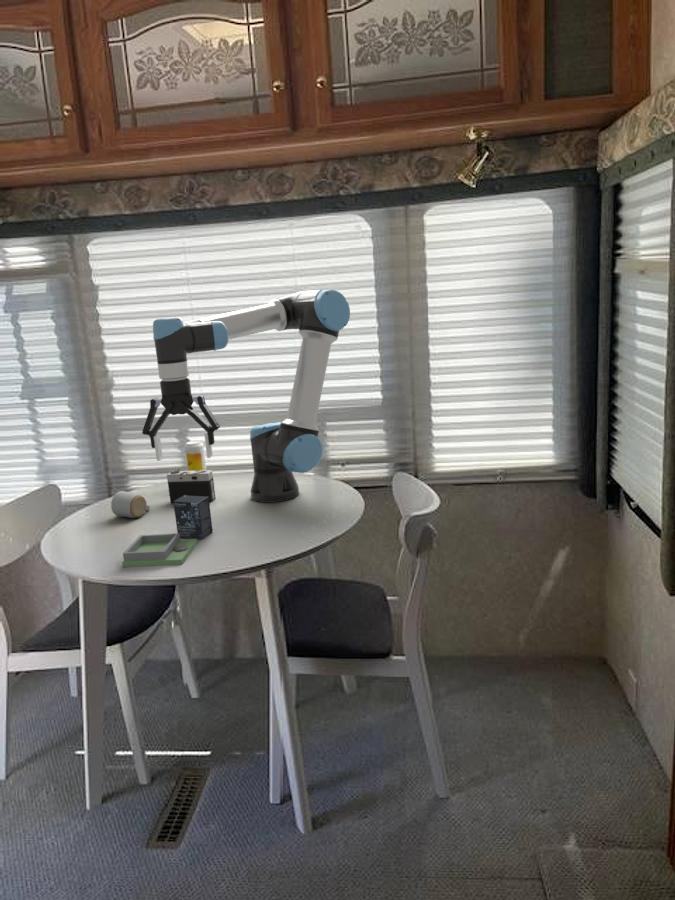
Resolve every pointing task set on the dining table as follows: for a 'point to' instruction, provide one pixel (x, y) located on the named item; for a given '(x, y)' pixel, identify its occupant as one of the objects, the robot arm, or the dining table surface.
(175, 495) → the camera
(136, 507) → the ceramic mug
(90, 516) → the dining table surface
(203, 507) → the box
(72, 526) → the dining table surface
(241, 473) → the dining table surface
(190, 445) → the white and yellow cylinder
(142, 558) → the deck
